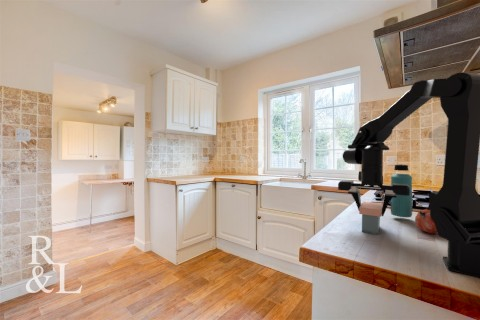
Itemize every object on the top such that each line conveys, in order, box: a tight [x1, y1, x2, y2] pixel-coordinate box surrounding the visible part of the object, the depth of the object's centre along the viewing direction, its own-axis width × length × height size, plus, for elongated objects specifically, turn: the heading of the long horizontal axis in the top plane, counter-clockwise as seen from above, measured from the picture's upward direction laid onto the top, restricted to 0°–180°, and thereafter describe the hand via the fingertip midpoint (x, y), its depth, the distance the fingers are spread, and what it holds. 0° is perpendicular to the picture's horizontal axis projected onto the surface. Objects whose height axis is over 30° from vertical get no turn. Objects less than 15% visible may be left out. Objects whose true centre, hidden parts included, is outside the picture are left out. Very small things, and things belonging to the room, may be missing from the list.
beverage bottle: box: [389, 163, 413, 218], centre depth 80 cm, size 6×7×20 cm
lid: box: [358, 201, 383, 217], centre depth 69 cm, size 10×6×3 cm, turn 145°
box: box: [361, 214, 381, 236], centre depth 69 cm, size 9×4×6 cm, turn 145°
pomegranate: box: [414, 208, 438, 235], centre depth 66 cm, size 7×7×10 cm
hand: (371, 214), depth 69 cm, fingers closed on lid, 6 cm apart
